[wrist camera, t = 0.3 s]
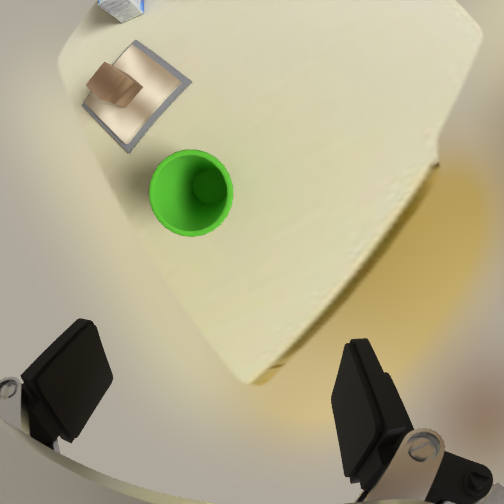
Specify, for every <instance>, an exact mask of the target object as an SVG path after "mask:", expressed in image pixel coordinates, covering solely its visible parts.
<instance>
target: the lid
mask: <svg viewBox="0 0 504 504" xmlns="http://www.w3.org/2000/svg"><path fill="white" fill-rule="evenodd" d="M181 83H182V82H181V81H179V80H178V79H177V78H176V77H174V76H173V75H172V74H171V73H169V72H168V71H167V70H166V69H164V68H163V67H162V66H160V65H159V64H158V63H157V62H155V61H154V60H153V59H151V58H150V57H149V56H147V55H146V54H145V53H143V52H142V51H141V50H139V49H138V48H136V47H135V46H134V45H131V46H130V47H129V48H128V49H127V50H126V51H125V52H124V53H123V54H122V56H121V57H120V58H119V59H118V60H117V61H116V62H115V64H114V65H113V66H112V65H110V64H108V63H106V62H104V63H103V64H102V65H101V66H100V68H99V69H98V70H97V71H96V73H95V74H94V75H93V76H92V78H91V79H90V80H89V82H88V83H87V84H86V86H87V87H88V88H89V89H90V90H91V91H92V92H91V94H90V95H89V96H88V98H87V99H86V101H85V102H84V103H85V104H86V105H87V106H88V107H89V108H90V109H91V110H92V111H93V112H94V113H95V114H96V115H97V116H98V117H99V118H100V119H101V120H102V121H103V122H104V123H105V124H106V125H107V126H108V127H109V128H110V129H111V130H112V131H113V132H114V133H115V134H116V135H117V136H118V137H119V138H120V139H121V140H122V141H123V142H124V143H125V144H129V143H130V141H131V140H132V139H133V137H134V136H135V135H136V134H137V132H138V131H139V130H140V129H141V127H142V126H143V125H144V124H145V123H146V121H147V120H148V119H149V118H150V117H151V116H152V114H153V113H154V112H155V111H156V110H157V109H158V108H159V106H160V105H161V104H162V103H163V102H164V101H165V100H166V99H167V98H168V97H169V96H170V94H171V93H172V92H173V91H174V90H175V89H176V88H177V87H178V86H179V85H180V84H181Z"/></svg>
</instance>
